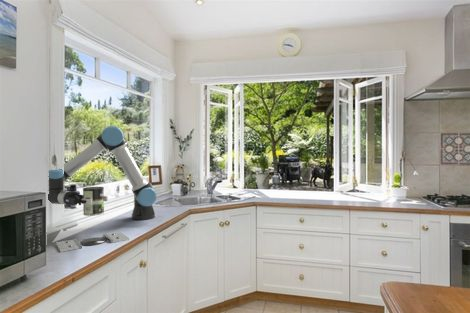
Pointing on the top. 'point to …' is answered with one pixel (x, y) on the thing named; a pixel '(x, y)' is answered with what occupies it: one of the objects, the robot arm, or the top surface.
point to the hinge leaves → (90, 241)
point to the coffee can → (94, 201)
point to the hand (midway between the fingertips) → (99, 200)
